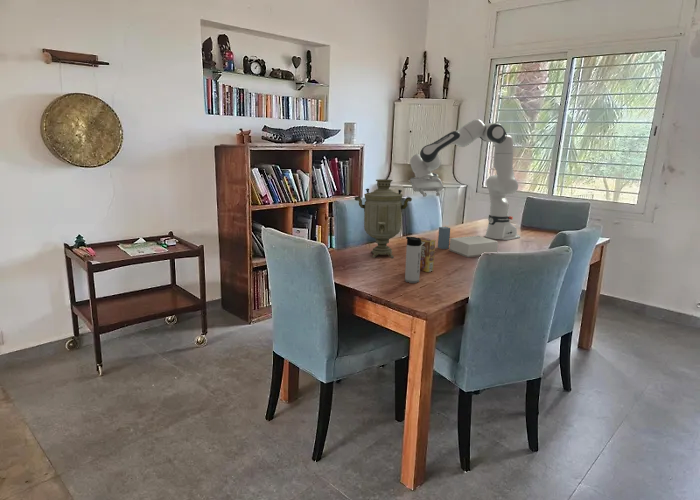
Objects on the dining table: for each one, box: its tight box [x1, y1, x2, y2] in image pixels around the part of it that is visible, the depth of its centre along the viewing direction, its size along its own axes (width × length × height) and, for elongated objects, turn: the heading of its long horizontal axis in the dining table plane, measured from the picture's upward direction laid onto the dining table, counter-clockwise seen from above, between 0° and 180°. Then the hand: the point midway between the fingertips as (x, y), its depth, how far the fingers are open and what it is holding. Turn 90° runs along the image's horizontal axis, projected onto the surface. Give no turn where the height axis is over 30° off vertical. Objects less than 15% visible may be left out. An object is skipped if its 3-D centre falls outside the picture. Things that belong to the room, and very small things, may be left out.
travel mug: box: [404, 236, 421, 284], centre depth 201 cm, size 6×7×20 cm
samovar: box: [354, 178, 413, 259], centre depth 239 cm, size 30×26×40 cm
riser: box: [448, 235, 499, 259], centre depth 255 cm, size 21×17×7 cm
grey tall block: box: [437, 226, 451, 250], centre depth 263 cm, size 4×4×12 cm
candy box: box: [417, 236, 436, 273], centre depth 219 cm, size 9×4×15 cm, turn 39°
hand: (431, 195), depth 273 cm, fingers open, 8 cm apart
